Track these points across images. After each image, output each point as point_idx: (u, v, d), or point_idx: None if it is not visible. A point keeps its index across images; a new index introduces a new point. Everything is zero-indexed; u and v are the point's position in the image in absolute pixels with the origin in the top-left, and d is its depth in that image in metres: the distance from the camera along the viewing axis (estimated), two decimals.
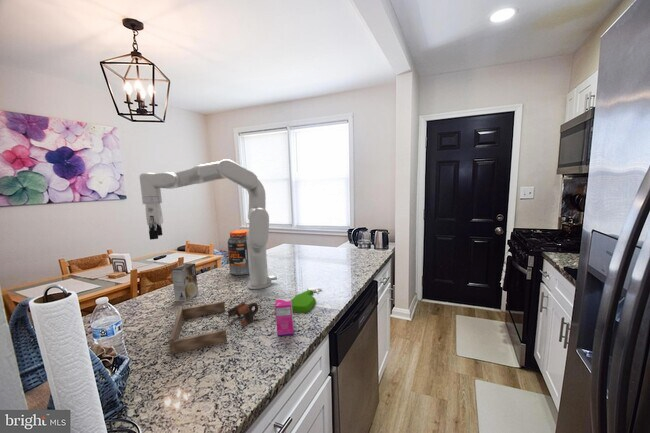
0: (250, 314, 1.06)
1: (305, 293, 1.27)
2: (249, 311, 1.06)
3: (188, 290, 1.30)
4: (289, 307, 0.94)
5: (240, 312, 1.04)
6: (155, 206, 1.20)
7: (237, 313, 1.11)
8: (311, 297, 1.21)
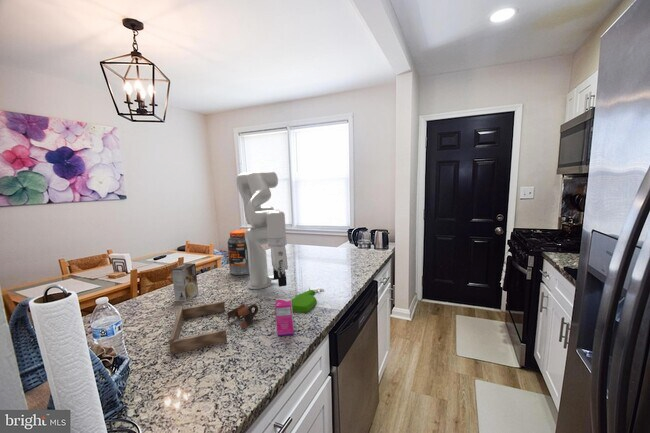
0: (250, 316, 1.05)
1: (306, 293, 1.27)
2: (249, 313, 1.05)
3: (188, 290, 1.30)
4: (289, 307, 0.94)
5: (240, 314, 1.02)
6: (284, 248, 1.07)
7: (236, 315, 1.09)
8: (312, 297, 1.21)
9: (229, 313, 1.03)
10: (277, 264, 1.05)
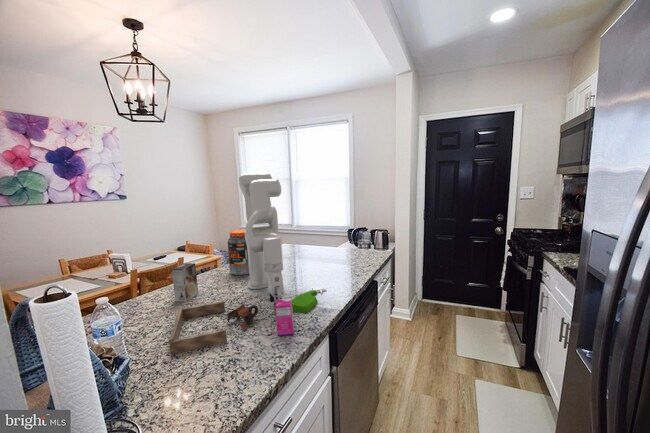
0: (250, 317, 1.04)
1: (308, 293, 1.27)
2: (249, 314, 1.04)
3: (188, 290, 1.30)
4: (289, 307, 0.94)
5: (240, 315, 1.01)
6: (281, 274, 1.07)
7: (236, 316, 1.09)
8: (313, 297, 1.21)
9: (229, 314, 1.02)
10: (273, 290, 1.06)
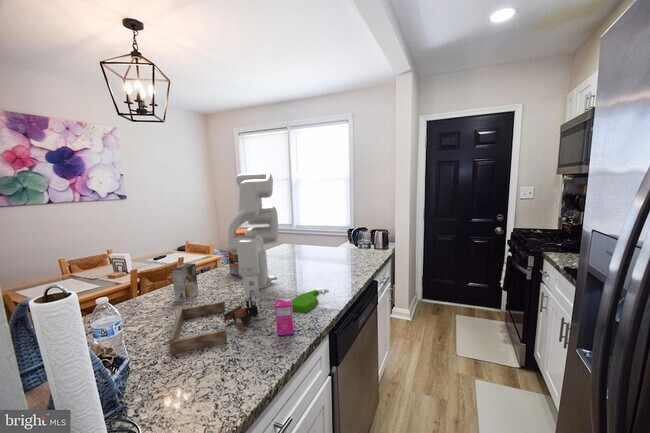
0: (247, 317, 1.03)
1: (309, 293, 1.27)
2: (246, 314, 1.03)
3: (188, 290, 1.30)
4: (289, 307, 0.94)
5: (237, 316, 1.01)
6: (256, 278, 1.04)
7: (233, 317, 1.08)
8: (314, 297, 1.21)
9: (226, 315, 1.02)
10: (248, 294, 1.03)
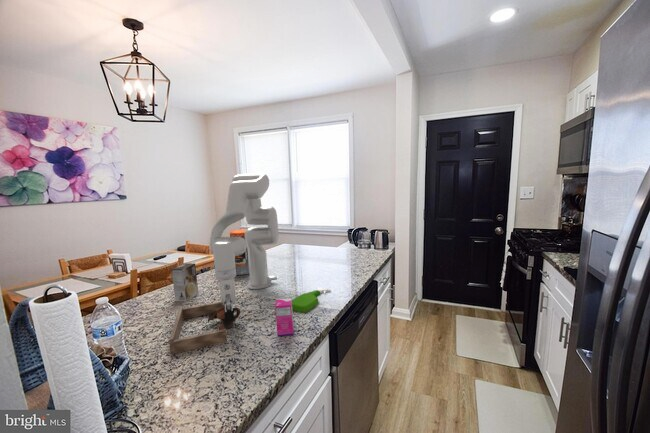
0: None
1: (311, 293, 1.27)
2: None
3: (188, 290, 1.30)
4: (289, 307, 0.94)
5: (218, 317, 1.01)
6: (232, 281, 1.01)
7: None
8: (314, 298, 1.21)
9: (209, 315, 1.02)
10: (223, 298, 0.99)
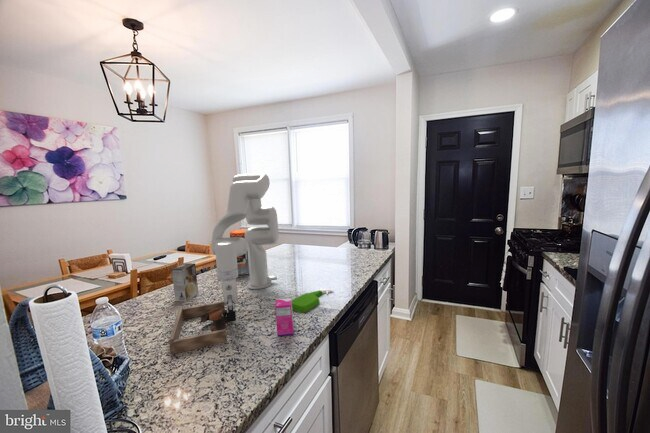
0: (222, 321, 1.01)
1: (313, 293, 1.26)
2: (221, 318, 1.01)
3: (188, 290, 1.30)
4: (289, 307, 0.94)
5: (210, 318, 0.99)
6: (234, 282, 1.01)
7: None
8: (315, 298, 1.20)
9: (201, 316, 1.01)
10: (225, 299, 1.00)
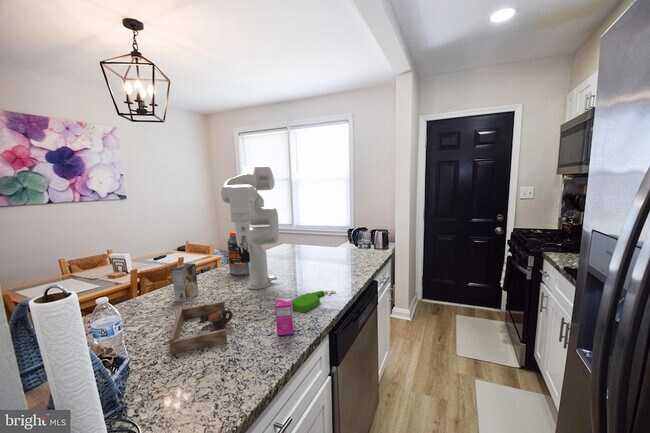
0: (221, 322, 1.01)
1: (314, 293, 1.26)
2: (220, 319, 1.01)
3: (188, 290, 1.30)
4: (289, 307, 0.94)
5: (210, 319, 0.99)
6: (248, 224, 1.04)
7: None
8: (316, 298, 1.20)
9: (200, 318, 1.00)
10: (240, 240, 1.03)
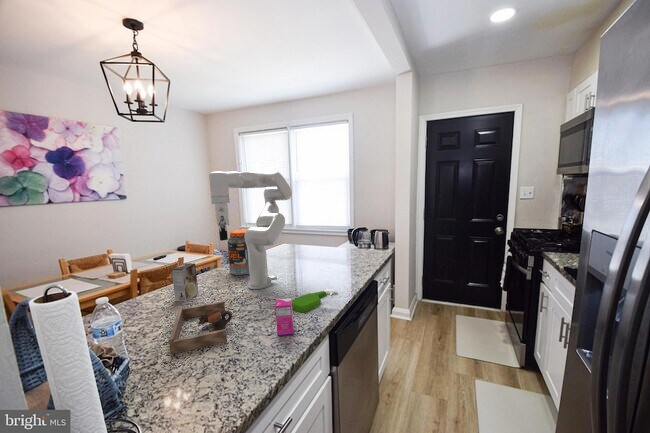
0: (221, 323, 1.00)
1: (316, 293, 1.26)
2: (220, 320, 1.00)
3: (188, 290, 1.30)
4: (289, 307, 0.94)
5: (209, 320, 0.98)
6: (226, 206, 1.16)
7: None
8: (316, 298, 1.20)
9: (200, 319, 1.00)
10: (218, 219, 1.15)
